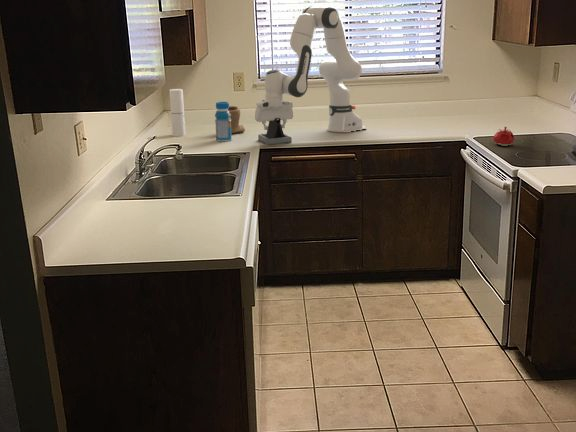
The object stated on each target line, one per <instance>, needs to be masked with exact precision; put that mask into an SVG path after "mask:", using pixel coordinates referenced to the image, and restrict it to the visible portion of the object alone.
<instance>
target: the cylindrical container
mask: <svg viewBox="0 0 576 432" xmlns="http://www.w3.org/2000/svg"><path fill="white" fill-rule="evenodd" d="M183 90H184V89H182V88H170V89H169V102H170V103H169V104H170V117H171V118H170V119H171V128H172V129H171V130H172V137H184V136H186V135H187V134H186V133H187V132H186V119H185V105H184V103H185V101H184V91H183Z"/></svg>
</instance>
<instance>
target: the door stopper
mask: <svg viewBox="0 0 576 432" xmlns="http://www.w3.org/2000/svg"><path fill="white" fill-rule="evenodd" d="M277 119H279V120H277ZM281 121H282V120H280V118H275V119H274V121H268V125H267V126H268V130H266V133H265V134H266V137H267V138H269V139H272V138H282V137H285V136H284V134H285V133H284V131H283V128H282V127H281V125H282V122H281Z"/></svg>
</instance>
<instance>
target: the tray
mask: <svg viewBox="0 0 576 432" xmlns="http://www.w3.org/2000/svg"><path fill="white" fill-rule="evenodd" d="M257 135H258V137H257V139H258V141H259V142H261V143H264V144H266V145H268V146H271V145H272V146H273V145H281V144H291V143H292V136H290V135H288V134H286V133H284V136H285V137H282V138H272V139H269V138H267V137H266V133H262V134H257Z"/></svg>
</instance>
